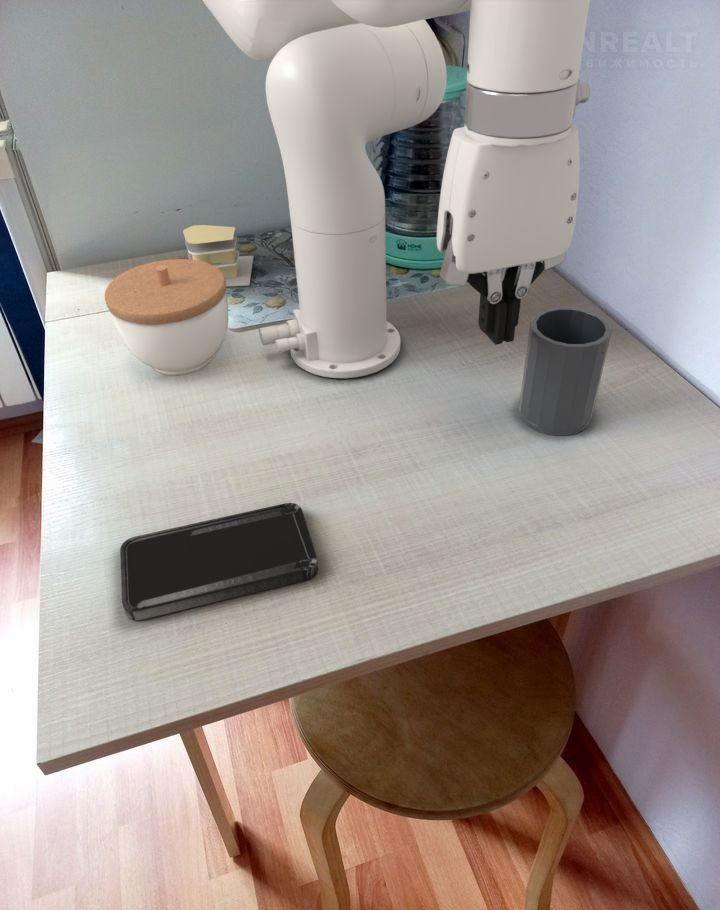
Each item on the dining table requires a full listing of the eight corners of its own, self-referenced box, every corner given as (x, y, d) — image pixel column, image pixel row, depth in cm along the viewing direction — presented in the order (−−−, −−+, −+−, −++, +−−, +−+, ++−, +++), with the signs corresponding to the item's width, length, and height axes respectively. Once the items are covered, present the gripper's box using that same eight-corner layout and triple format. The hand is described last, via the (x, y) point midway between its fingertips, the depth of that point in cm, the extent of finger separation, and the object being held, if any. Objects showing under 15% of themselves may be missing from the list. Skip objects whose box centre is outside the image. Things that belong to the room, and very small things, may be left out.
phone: (319, 567, 55) (122, 614, 52) (320, 576, 56) (126, 623, 53) (298, 499, 61) (119, 538, 58) (299, 508, 61) (123, 547, 59)
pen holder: (540, 442, 67) (556, 353, 61) (506, 401, 72) (517, 315, 66) (605, 426, 69) (626, 337, 62) (567, 387, 74) (583, 301, 67)
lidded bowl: (119, 343, 83) (92, 255, 76) (223, 320, 87) (207, 233, 80) (134, 401, 74) (106, 307, 67) (250, 372, 78) (235, 280, 71)
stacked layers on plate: (253, 255, 100) (248, 218, 96) (249, 285, 93) (243, 246, 90) (183, 259, 100) (174, 222, 96) (173, 289, 93) (164, 250, 90)
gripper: (584, 84, 54) (551, 300, 66) (400, 109, 51) (401, 331, 63) (642, 109, 49) (595, 340, 60) (441, 138, 45) (433, 375, 57)
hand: (496, 335), depth 62 cm, fingers closed
